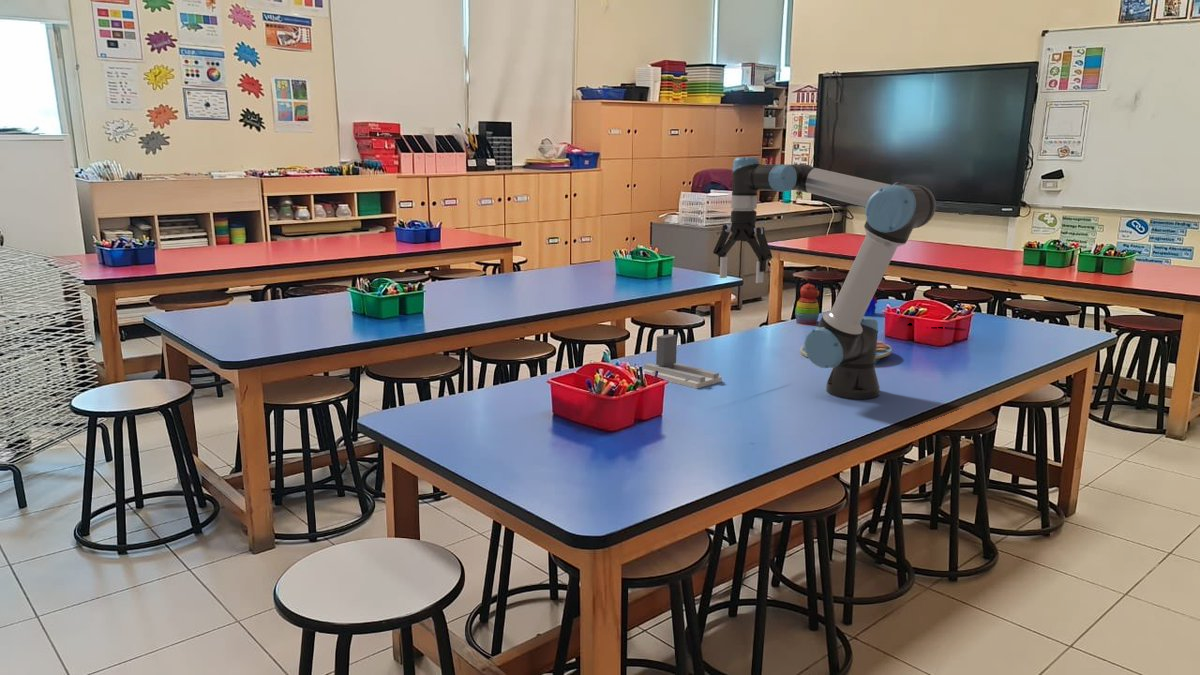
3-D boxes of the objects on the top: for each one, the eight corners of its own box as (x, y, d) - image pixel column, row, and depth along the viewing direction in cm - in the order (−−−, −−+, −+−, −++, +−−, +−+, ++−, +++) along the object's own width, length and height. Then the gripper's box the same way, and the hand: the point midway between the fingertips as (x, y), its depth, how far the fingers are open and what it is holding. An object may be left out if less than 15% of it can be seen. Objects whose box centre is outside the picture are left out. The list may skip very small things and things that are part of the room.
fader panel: (721, 381, 267) (722, 372, 266) (696, 388, 258) (696, 378, 258) (665, 368, 283) (665, 359, 282) (640, 374, 274) (640, 365, 274)
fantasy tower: (873, 317, 374) (875, 290, 372) (883, 322, 363) (885, 294, 360) (846, 317, 374) (848, 290, 371) (855, 322, 362) (857, 294, 360)
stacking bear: (818, 331, 344) (821, 286, 340) (792, 329, 347) (794, 285, 344) (821, 326, 354) (824, 283, 350) (796, 324, 357) (798, 281, 354)
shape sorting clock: (799, 345, 319) (799, 329, 318) (885, 350, 313) (887, 333, 312) (800, 364, 290) (801, 347, 289) (896, 370, 284) (897, 352, 283)
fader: (675, 368, 275) (676, 335, 273) (663, 371, 271) (664, 338, 269) (668, 366, 277) (669, 333, 275) (656, 369, 273) (656, 336, 271)
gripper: (786, 211, 254) (782, 283, 258) (718, 207, 271) (716, 274, 276) (771, 212, 249) (767, 285, 253) (703, 208, 266) (701, 276, 271)
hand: (740, 280), depth 265 cm, fingers open, 13 cm apart
